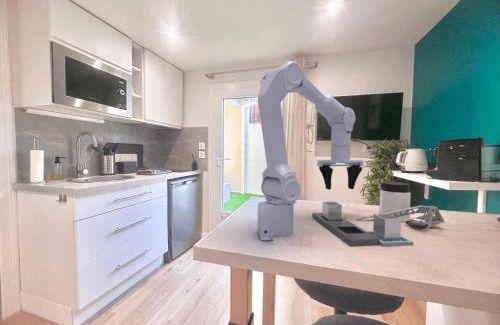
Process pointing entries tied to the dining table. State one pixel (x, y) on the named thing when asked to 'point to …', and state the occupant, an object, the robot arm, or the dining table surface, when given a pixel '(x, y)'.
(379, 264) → the dining table surface
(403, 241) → the tray
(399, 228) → the light grey rectangular block
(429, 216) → the bracket
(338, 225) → the slotted metal plate
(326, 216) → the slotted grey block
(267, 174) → the robot arm
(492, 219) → the dining table surface
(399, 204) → the jar
